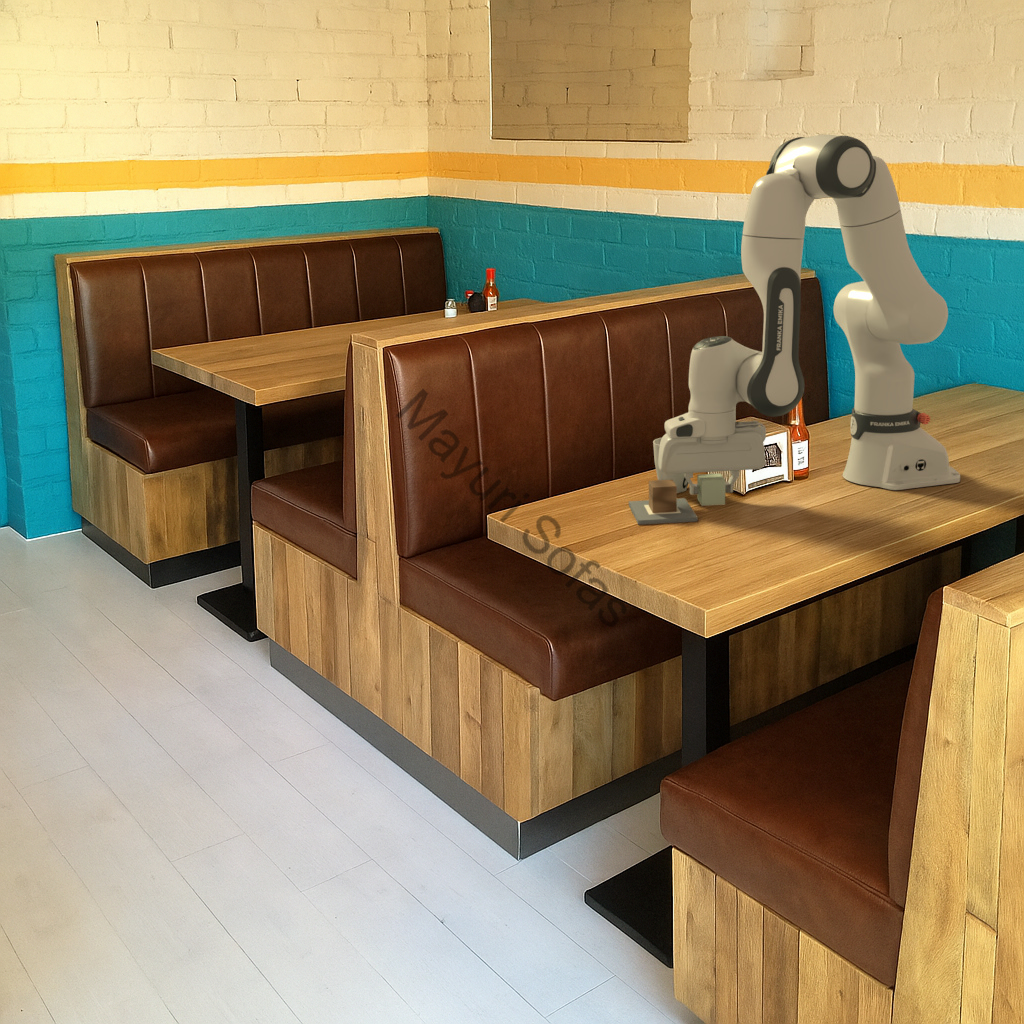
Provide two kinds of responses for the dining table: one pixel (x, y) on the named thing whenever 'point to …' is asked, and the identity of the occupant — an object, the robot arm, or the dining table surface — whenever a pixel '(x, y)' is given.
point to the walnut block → (662, 496)
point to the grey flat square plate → (647, 517)
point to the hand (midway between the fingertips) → (711, 492)
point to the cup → (677, 478)
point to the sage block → (711, 489)
